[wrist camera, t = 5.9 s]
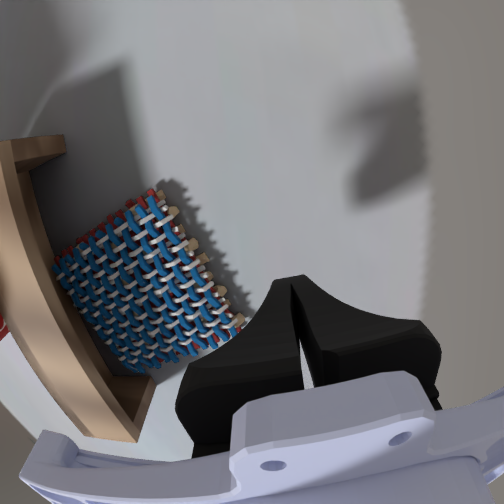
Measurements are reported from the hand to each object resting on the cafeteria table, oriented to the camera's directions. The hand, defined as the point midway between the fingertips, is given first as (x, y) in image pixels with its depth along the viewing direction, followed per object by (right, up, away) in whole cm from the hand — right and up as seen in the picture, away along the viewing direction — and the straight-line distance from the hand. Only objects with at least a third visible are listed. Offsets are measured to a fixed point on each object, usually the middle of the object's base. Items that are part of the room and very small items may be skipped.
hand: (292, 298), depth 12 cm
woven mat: (-9, 0, +7) cm, 11 cm away
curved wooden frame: (-14, 0, +6) cm, 15 cm away
